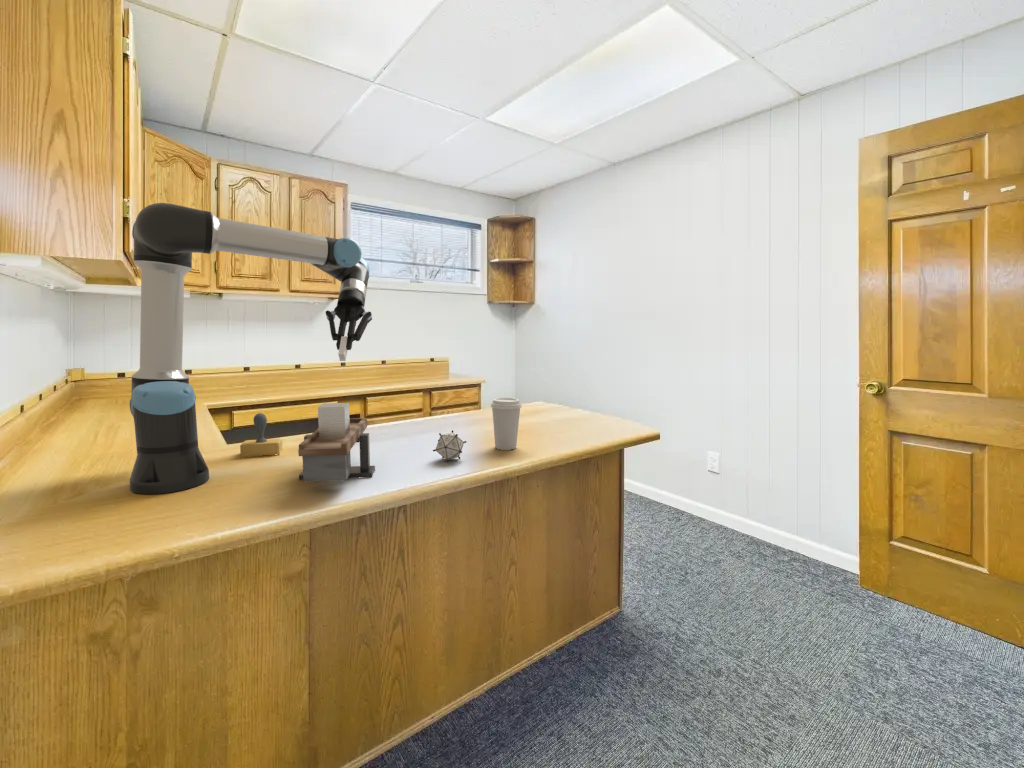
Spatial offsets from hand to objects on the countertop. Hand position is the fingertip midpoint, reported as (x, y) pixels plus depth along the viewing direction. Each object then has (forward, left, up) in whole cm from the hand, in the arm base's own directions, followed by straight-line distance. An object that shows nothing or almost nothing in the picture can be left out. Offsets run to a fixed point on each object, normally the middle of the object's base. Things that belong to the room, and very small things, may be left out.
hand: (342, 357), depth 129 cm
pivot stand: (+10, -7, -29) cm, 31 cm away
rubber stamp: (-24, -12, -29) cm, 40 cm away
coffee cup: (+22, +42, -29) cm, 55 cm away
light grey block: (+11, -9, -18) cm, 23 cm away
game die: (+20, +21, -29) cm, 41 cm away
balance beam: (+10, -7, -26) cm, 28 cm away
